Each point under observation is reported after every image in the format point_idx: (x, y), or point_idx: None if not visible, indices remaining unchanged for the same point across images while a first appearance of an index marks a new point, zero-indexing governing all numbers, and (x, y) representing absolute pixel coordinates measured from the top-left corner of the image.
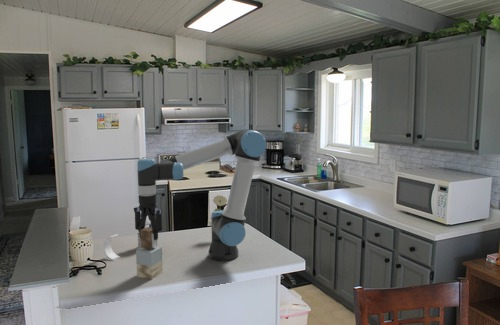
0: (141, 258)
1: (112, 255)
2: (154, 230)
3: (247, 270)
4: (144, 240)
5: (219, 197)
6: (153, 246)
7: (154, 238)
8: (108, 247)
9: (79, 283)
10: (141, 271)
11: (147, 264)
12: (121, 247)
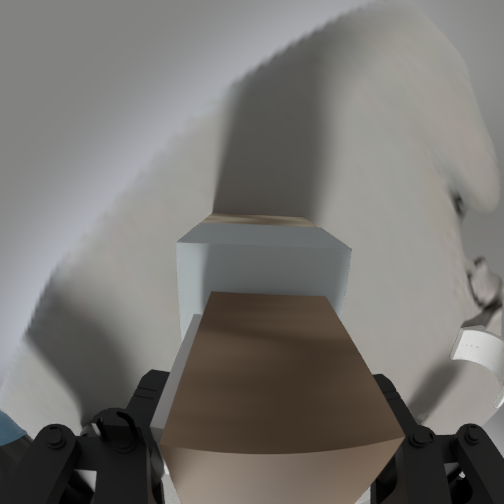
0: (285, 232)
1: (471, 346)
2: (104, 459)
3: (15, 363)
4: (293, 337)
5: None
6: (192, 323)
7: (164, 383)
8: (495, 358)
9: (461, 105)
10: (279, 220)
11: (233, 224)
12: (456, 409)
